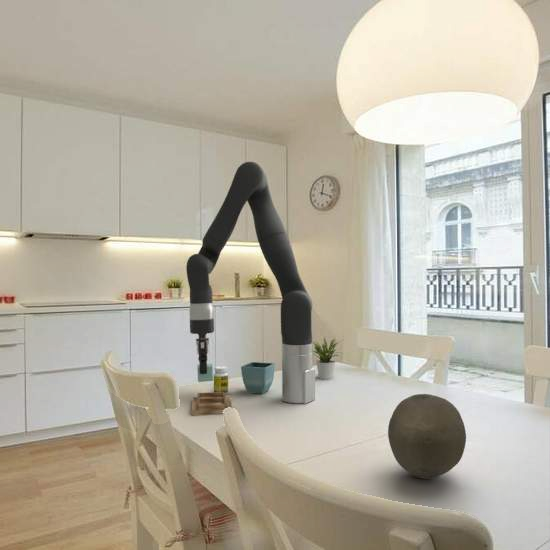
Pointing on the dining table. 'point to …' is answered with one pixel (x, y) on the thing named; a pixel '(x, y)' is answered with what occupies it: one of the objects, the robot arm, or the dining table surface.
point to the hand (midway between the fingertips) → (203, 372)
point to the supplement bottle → (221, 379)
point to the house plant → (325, 359)
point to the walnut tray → (210, 403)
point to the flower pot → (258, 376)
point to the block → (207, 376)
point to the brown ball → (426, 435)
